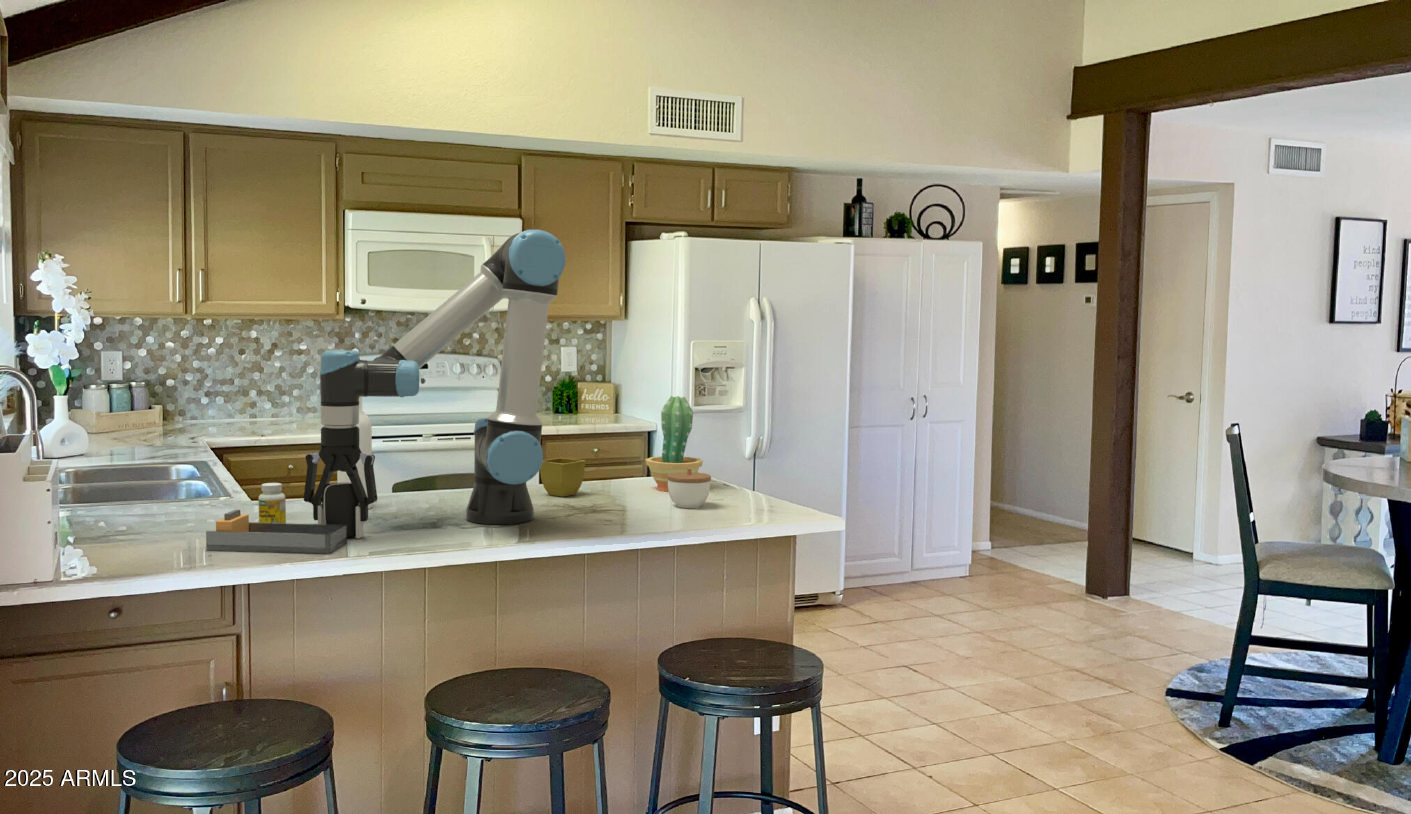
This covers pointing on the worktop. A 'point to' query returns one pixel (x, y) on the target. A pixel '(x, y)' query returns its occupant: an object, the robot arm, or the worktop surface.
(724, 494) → the worktop surface
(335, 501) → the battery charger
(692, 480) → the lidded jar
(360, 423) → the bottle
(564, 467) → the flower pot
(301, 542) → the tray
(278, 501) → the supplement bottle
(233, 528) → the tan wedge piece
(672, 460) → the potted cactus
